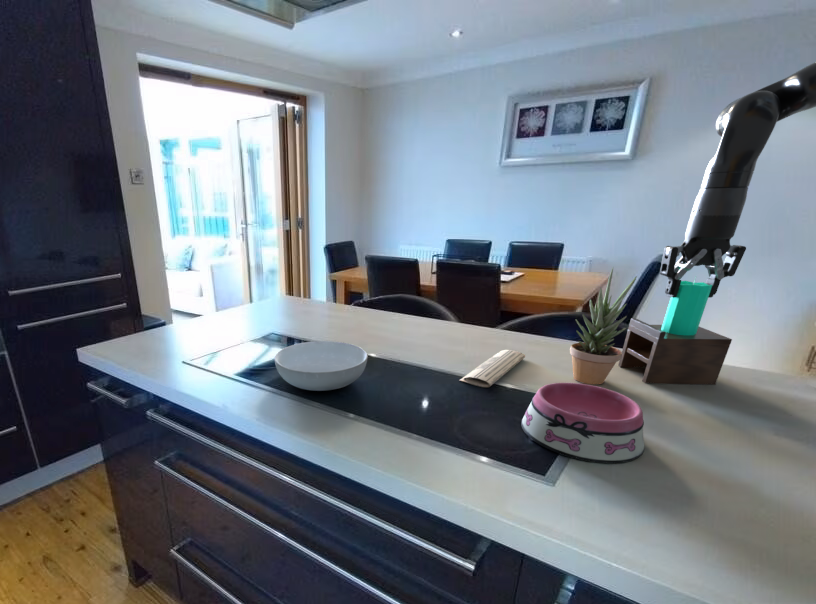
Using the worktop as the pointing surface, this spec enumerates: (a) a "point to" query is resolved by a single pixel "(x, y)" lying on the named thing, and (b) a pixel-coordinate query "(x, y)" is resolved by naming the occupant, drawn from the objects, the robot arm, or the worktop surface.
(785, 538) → the worktop surface
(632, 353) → the shelf
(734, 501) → the worktop surface
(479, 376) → the newspaper
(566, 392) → the dog bowl
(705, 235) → the robot arm
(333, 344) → the serving bowl
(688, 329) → the candle
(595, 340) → the potted plant
